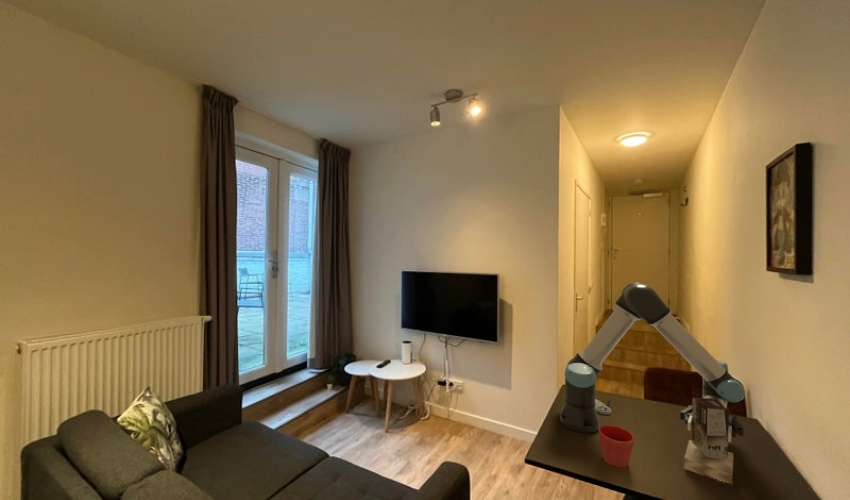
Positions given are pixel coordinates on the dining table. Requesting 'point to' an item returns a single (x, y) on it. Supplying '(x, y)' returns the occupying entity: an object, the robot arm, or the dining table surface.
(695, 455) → the stand
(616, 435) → the flower pot
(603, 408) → the game controller
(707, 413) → the coffee box
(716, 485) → the dining table surface
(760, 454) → the dining table surface
